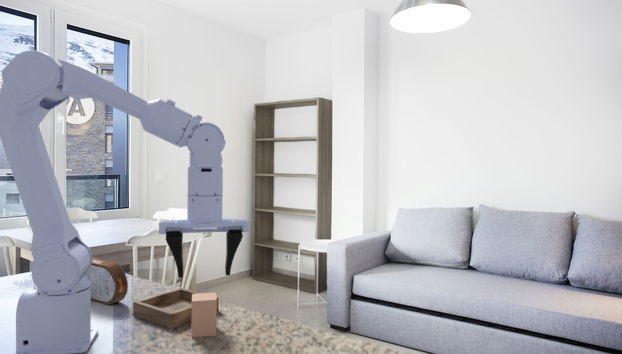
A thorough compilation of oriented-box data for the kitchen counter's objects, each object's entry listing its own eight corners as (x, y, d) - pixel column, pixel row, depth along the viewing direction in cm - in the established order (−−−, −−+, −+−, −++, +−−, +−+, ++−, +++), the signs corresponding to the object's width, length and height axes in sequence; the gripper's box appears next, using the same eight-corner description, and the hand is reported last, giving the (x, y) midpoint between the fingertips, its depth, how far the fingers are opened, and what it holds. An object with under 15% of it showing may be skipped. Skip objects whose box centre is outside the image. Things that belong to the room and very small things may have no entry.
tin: (129, 304, 84) (129, 262, 84) (115, 309, 82) (115, 266, 81) (83, 292, 92) (83, 253, 91) (69, 296, 89) (69, 256, 89)
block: (191, 337, 69) (191, 301, 69) (191, 328, 73) (192, 293, 73) (216, 335, 70) (216, 299, 70) (215, 326, 74) (215, 292, 74)
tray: (171, 328, 72) (171, 314, 72) (133, 315, 79) (133, 301, 78) (218, 310, 82) (218, 297, 82) (180, 299, 88) (181, 287, 88)
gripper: (157, 197, 65) (156, 284, 66) (251, 196, 69) (250, 279, 69) (161, 193, 72) (161, 272, 72) (246, 193, 76) (245, 268, 76)
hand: (204, 275), depth 71 cm, fingers open, 7 cm apart
